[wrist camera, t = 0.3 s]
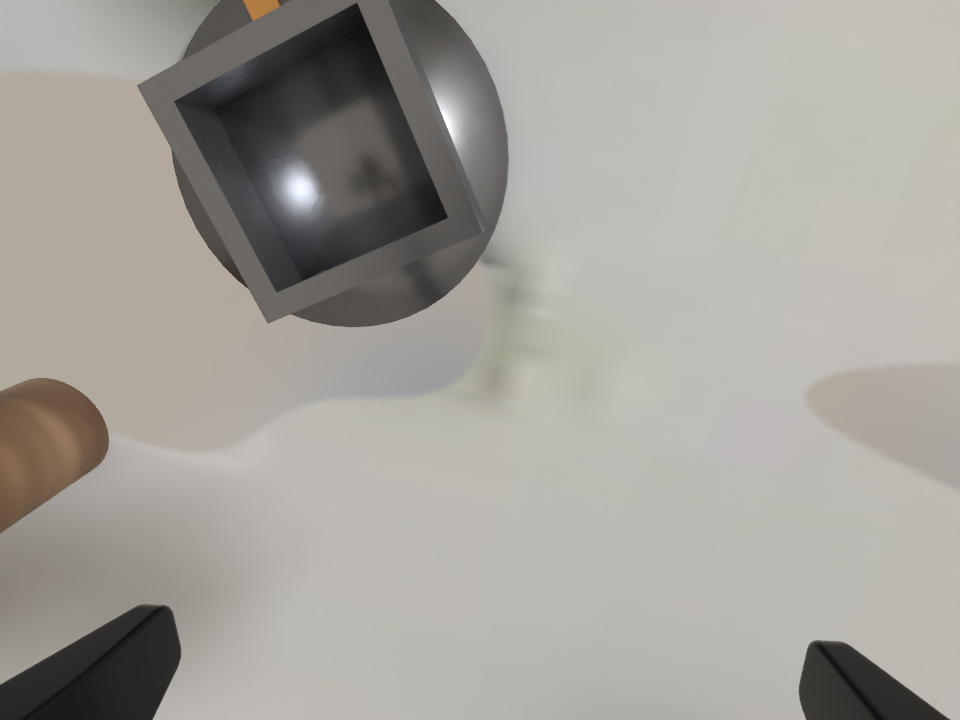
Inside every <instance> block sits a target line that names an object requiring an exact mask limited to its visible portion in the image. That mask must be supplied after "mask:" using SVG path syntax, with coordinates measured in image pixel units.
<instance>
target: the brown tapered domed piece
mask: <svg viewBox="0 0 960 720" xmlns="http://www.w3.org/2000/svg"><path fill="white" fill-rule="evenodd" d="M108 444H109V437H108V431H107V427H106V424H105V422H104V419H103V417H102V416H101V414H100V412H99V411H98V409H97V408H96V406H95V405H94V404H93V403H92V402H91V401H90V400H89V399H88V398H87V397H86V396H85V395H84V394H82V393H81V392H80V391H78V390H77V389H75V388H74V387H72V386H70V385H68V384H65V383H63V382H60V381H57V380H53V379H47V378H36V379H30V380H27V381H24V382H22V383H20V384H17V385H15V386H12V387H10V388H8V389H5V390H3V391H1V392H0V533H1V532H3V531H4V530H6V529H7V528H8V527H10V526H11V525H13V524H14V523H16V522H17V521H19V520H20V519H22V518H23V517H24V516H26V515H27V514H29V513H30V512H32V511H33V510H35V509H36V508H37V507H39V506H40V505H42V504H43V503H45V502H46V501H48V500H49V499H51V498H52V497H53V496H55V495H56V494H58V493H59V492H61V491H62V490H64V489H65V488H66V487H68V486H69V485H71V484H72V483H74V482H75V481H77V480H78V479H80V478H81V477H82V476H84V475H85V474H87V473H88V472H90V471H91V470H93V469H94V468H95V467H97V466H98V465H99V464H100V463H101V462H102V460H103V459H104V458H105V455H106V453H107V450H108Z"/></svg>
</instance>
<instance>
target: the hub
mask: <svg viewBox="0 0 960 720" xmlns="http://www.w3.org/2000/svg"><path fill="white" fill-rule="evenodd" d="M137 87H138V88H139V90H140V92H141V94H142V96H143V97H144V99H145V101H146V103H147V105H148V107H149V108H150V110H151V112H152V114H153V116H154V117H155V119H156V121H157V123H158V125H159V127H160V128H161V130H162V132H163V134H164V136H165V137H166V139H167V141H168V143H169V145H170V147H171V148H172V156H173V164H174V168H175V172H176V176H177V180H178V185H179V188H180V191H181V193H182V196H183V199H184V202H185V205H186V207H187V210H188V212H189V214H190V216H191V218H192V220H193V222H194V224H195V226H196V228H197V230H198V231H199V233H200V234H201V236H202V238H203V239H204V241H205V242H206V244H207V246H208V247H209V249H210V250H211V251H212V252H213V254H214V255H215V256H216V257H217V258H218V260H219V261H220V262H221V263H222V265H223V266H224V267H225V268H226V269H227V270H228V271H229V272H230V273H231V274H232V275H233V276H234V277H235V278H236V279H237V280H238V281H239V282H240V283H242V284H243V285H244V286H245V287H247V288H248V289H249V290H250V292H251V294H252V295H253V297H254V299H255V301H256V303H257V304H258V306H259V308H260V310H261V312H262V314H263V316H264V317H265V319H266V321H267V323H270V322H273V321H275V320H277V319H280V318H282V317H284V316H287V315H289V314H292V315H294V316H297V317H300V318H303V319H306V320H309V321H312V322H317V323H322V324H327V325H333V326H345V327H362V326H374V325H380V324H385V323H390V322H393V321H397V320H400V319H403V318H406V317H409V316H411V315H413V314H415V313H417V312H419V311H421V310H423V309H426V308H428V307H429V306H431V305H432V304H433V303H435V302H437V301H438V300H440V299H441V298H443V297H444V296H445V295H446V294H447V293H449V292H450V291H451V290H452V289H453V288H454V287H455V286H457V285H458V284H459V283H460V282H461V280H462V279H463V278H464V277H465V276H466V275H467V274H468V273H469V271H470V270H471V269H472V268H473V267H474V265H475V264H476V262H477V261H478V259H479V258H480V256H481V255H482V253H483V251H484V250H485V248H486V246H487V244H488V242H489V240H490V238H491V236H492V234H493V232H494V230H495V228H496V225H497V222H498V219H499V216H500V213H501V210H502V207H503V202H504V197H505V192H506V187H507V178H508V164H509V157H508V137H507V131H506V126H505V120H504V114H503V110H502V107H501V104H500V100H499V97H498V94H497V91H496V87H495V85H494V83H493V80H492V78H491V76H490V74H489V71H488V69H487V67H486V65H485V62H484V61H483V59H482V57H481V56H480V54H479V52H478V51H477V49H476V47H475V46H474V44H473V43H472V41H471V39H470V38H469V37H468V36H467V34H466V33H465V32H464V31H463V29H462V28H461V27H460V25H459V24H458V23H457V22H456V20H455V19H454V18H453V17H452V16H451V15H450V14H449V13H448V12H447V11H446V10H445V9H443V8H442V7H441V6H440V5H439V4H438V3H437V2H436V1H435V0H222V1H221V2H219V3H218V4H217V5H216V6H215V7H214V8H213V10H212V11H211V12H210V13H209V15H208V16H207V17H206V19H205V20H204V21H203V22H202V24H201V25H200V26H199V28H198V30H197V32H196V33H195V35H194V37H193V39H192V40H191V42H190V44H189V46H188V48H187V50H186V53H185V55H184V58H183V60H182V61H180V62H179V63H177V64H175V65H173V66H171V67H170V68H168V69H166V70H164V71H162V72H161V73H159V74H157V75H155V76H153V77H152V78H150V79H148V80H146V81H144V82H143V83H141V84H139V85H137Z"/></svg>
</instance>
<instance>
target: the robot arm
mask: <svg viewBox="0 0 960 720" xmlns="http://www.w3.org/2000/svg"><path fill="white" fill-rule="evenodd" d="M180 658H181V645H180V641H179V636H178V632H177V628H176V623H175V619H174V615H173V612H172V610H171V609H170V608H169V607H168V606H165V605H149V604H144V605H139V606H137V607H135V608H133V609H131V610H130V611H128V612H126V613H124V614H123V615H121V616H119V617H117V618H116V619H114V620H112V621H110V622H109V623H107V624H105V625H103V626H102V627H100V628H98V629H96V630H95V631H93V632H91V633H89V634H88V635H86V636H84V637H83V638H81V639H79V640H77V641H76V642H74V643H72V644H70V645H69V646H67V647H65V648H63V649H62V650H60V651H58V652H56V653H55V654H53V655H51V656H49V657H48V658H46V659H44V660H42V661H41V662H39V663H37V664H35V665H34V666H32V667H30V668H29V669H27V670H25V671H23V672H22V673H20V674H18V675H16V676H15V677H13V678H11V679H9V680H8V681H6V682H4V683H2V684H1V685H0V720H153V718H154V716H155V714H156V711H157V709H158V707H159V705H160V703H161V701H162V699H163V697H164V695H165V693H166V691H167V689H168V687H169V684H170V682H171V680H172V678H173V676H174V674H175V672H176V670H177V668H178V665H179V662H180ZM799 697H800V702H801V706H802V709H803V712H804V715H805V718H806V720H950V719H948V718H947V717H946V716H944V715H943V714H942V713H940V712H939V711H938V710H936V709H935V708H934V707H932V706H931V705H930V704H928V703H927V702H926V701H924V700H923V699H921V698H920V697H919V696H917V695H916V694H915V693H913V692H912V691H911V690H909V689H908V688H907V687H905V686H904V685H903V684H901V683H900V682H899V681H897V680H896V679H895V678H893V677H892V676H890V675H889V674H888V673H886V672H885V671H884V670H882V669H881V668H880V667H878V666H877V665H876V664H874V663H873V662H872V661H870V660H869V659H868V658H866V657H865V656H864V655H862V654H861V653H860V652H858V651H857V650H855V649H854V648H853V647H851V646H850V645H848V644H846V643H844V642H839V641H821V640H816V641H812V642H811V643H810V644H809V646H808V649H807V652H806V657H805V661H804V666H803V670H802V675H801V679H800V684H799Z"/></svg>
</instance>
